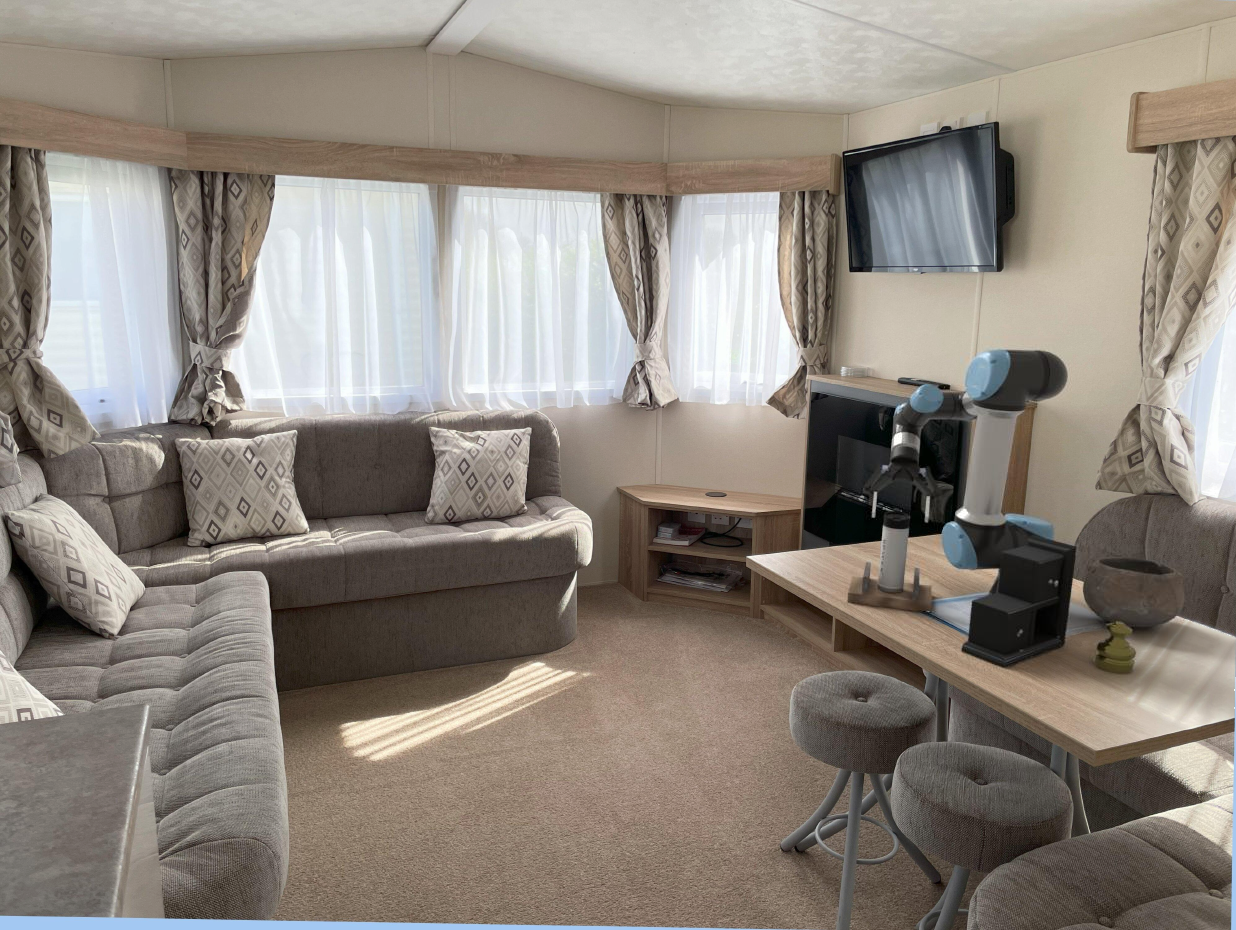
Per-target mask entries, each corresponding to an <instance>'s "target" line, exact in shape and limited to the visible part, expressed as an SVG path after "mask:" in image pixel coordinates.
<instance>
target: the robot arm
mask: <svg viewBox="0 0 1236 930" xmlns="http://www.w3.org/2000/svg"><path fill="white" fill-rule="evenodd" d="M1068 375H1069V374H1068V369H1067V367H1066V364H1065V362H1064V361H1063V360H1062V359H1061V358H1060V357H1059V356H1058V355H1056V354H1054V353H1052V352H1049V351H1046V350H1041V349H1040V350H1039V349H1038V350H1037V349H1035V350H1034V349H1033V350H1027V349H1026V350H1025V349H1024V350H1023V349H1001V348H999V349H989V350H988V349H987V350H983V351H981V352H979V353H978V354H977V355H976V356H975V357H973V359H972V360H971V361H970V363H969V365H968V367H967V370H966V374H965V377H964V378H965V379H964V385H965V387H966V388H965V391H954V392H953V391H942V390H941V389H940V388H938V387H937V386H935V385H934V386H933V385H932V384H931V383H930V384H928V383H927V384H926V383H925V384H923V385H920V386H919V387H918V388H917V389H916V390H915V391H914V392H913V393H912V394H911V396H910V398H909V399H908V401H907V402H905V403H903V402H902V404H899V405H898V406H897V407H896V408H895V411H894V415H893V417H892V419H893V424H892V425H893V426H892V439H891V448H890V450H891V451H890V458H889V459H890V460H889V461H890V462H889V464H888V465H886V464H885V465H884V464H883V462H878V464H877V468H876V469H875V471H874V472H873V474H872V475H871V476H870V477H869V479H868V480H867V482H866V483H865V484H864V485H863V490H862V492H863V494H865V495H868V497H869V498H868V504H869V506H872V509H871V510H872V511H871V518H876V510H877V497H878V493H880V491H882V490H883V489H884V488H886V487H887V486H888V485H889V484H892V483H893V482H895V481H896V483H912V485H914V486H915V487H916V488H917V489H918V490H919V491H920V492H921V493H922V494H923V496H924V497H925V498H926V501H925V512H924V513H925V515H924V516H925V517H924V522H925V523H929V518H930V511H931V512H932V511H934V510H935V509H934V507H935V501H940V500H941V499H942V494H943V493H942V491H941V489H940V487H939V486H938V484H937V482H936V481H935V478H934V477H933V475H932V473H931V467H930V466H927V465H926V466H925V467H922V468H921V467H920V466H919V458H920V446H921V433H922V429H923V428H924V426H925V425H926V424H927V423H928V422H929V421H930V420H969V421H973V420H976V424H975V428H974V429H975V430H974V435H973V441H972V447H971V455H970V461H969V467H968V472H967V474H968V475H967V480H966V487H965V493H964V498H963V506H961V507H960V508H959V509H957V510H956V511H955V515H954V521H950V522H947V523H945V525H944V526H943V529H942V531H941V545H942V550H943V553H944V556H945V557H946V559H947V561H948V562H949V564H950V565H952V566H953V567H954V568H956V569H957V570H970V571H975V570H996V569H997V571H998V572H997V575H996V577H995V579H994V581H993V583H992V584H991V585H992V586H991V587H990V589H989V591H988V594H987V596H988V595H991V594H995V593H998V587H999V578H1000V568H1001V561H1002V553H1003V551H1007V550H1011V549H1015V548H1019V547H1023V546H1027V544H1028V539H1029V537H1030V536H1031V535H1034V536H1037V537H1042V538H1046V539H1049V540H1053V541H1055V528H1054V526H1053V524H1052V523H1050V522H1048V521H1046V520H1044V519H1042V518H1041V519H1040V518H1036V517H1033V516H1030V515H1024V514H1020V513H1019V514H1018V513H1006V514H1005V515H1003V513H1002V512H1001V511H1002V507H1003V500H1004V496H1005V487H1006V484H1007V477H1008V471H1009V466H1010V460H1011V454H1012V447H1013V440H1014V437H1015V436H1014V435H1015V429H1016V426H1017V418H1018V416H1020V415H1021V414H1023V413H1024V412H1026V407H1027V401H1029V402H1033V403H1034V402H1042V401H1045V400H1046V401H1047V400H1049V399H1053V398H1055V397H1057V395H1060V393H1061V392H1062V391H1063V390H1064V389H1065V387H1066V385H1067V382H1068V377H1069V376H1068ZM886 471H887V472H888V473H887V474H886V476H884V477H883V478H882V479H880V480H879V478H881V476H882V474H884V473H885V472H886ZM919 474H921V475H922V476H923V478H925V481H926V483H927V484H928V486H929V487H928V486H927V484H925V482H924V481H923V480H922V479H921V478H920V476H919ZM878 480H879V481H878ZM877 481H878V482H877ZM876 482H877V483H876Z"/></svg>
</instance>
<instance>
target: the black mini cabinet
mask: <svg viewBox="0 0 1236 930" xmlns="http://www.w3.org/2000/svg"><path fill="white" fill-rule="evenodd" d="M1077 548H1078V546H1076V545H1071V544H1068V543H1064V542H1060V541H1057V540H1054V541H1053V540H1049V539H1046V538H1042V537H1037V536H1034V535H1031V536H1030V537H1029V539H1028V544H1027V546H1023V547H1019V548H1015V549H1011V550H1007V551H1003V553H1002V561H1001V568H1000V578H999V587H998V593H995V594H991V595H988V594H987V595H984V596H982V597H979V598H976V599H972V600H971V605H970V606H971V607H970V615H969V627H968V636H967V641H965V642H963V644H962V646H961V652H964V653H966V654H968V655H971V656H973V657H975V658H979V659H980V660H983V661H986V662H988V663H991V664H993V665H995V666H999V667H1001V668H1003V669H1006V668H1007V667H1011V666H1013V665H1015V664H1018V663H1021V662H1024V661H1026V660H1029V659H1032V658H1034V657H1037V656H1040V655H1043V654H1046V653H1047V652H1050V651H1053V650H1055V649H1058V648H1061V647H1064V646H1065V645H1066V636H1067V630H1068V629H1067V628H1068V621H1069V614H1070V613H1069V612H1070V605H1071V596H1072V589H1073V583H1074V571H1075V566H1076V558H1077V554H1076V553H1077Z"/></svg>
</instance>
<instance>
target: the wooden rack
mask: <svg viewBox="0 0 1236 930" xmlns="http://www.w3.org/2000/svg"><path fill="white" fill-rule="evenodd" d="M871 567H872V562H869V561H866V562H865V566H864V571H863V576H862V577H861V576H854V575H853V576H851V579H850V583H849V587H848V591H847V601H851V602H850V603H852V602H857V603H856V604H860V603H864V604H863V605H867V604H868V605H869V606H875V607H877V606H878V607H885V608H891V609H899V610H906V611H907V610H908V611H914V612H915V611H916V612H923V611H931V612H932V602H933V601H932V600H933V598H932V597H933V595H932V586H931V585H927V584H921V583H920V570H921V569H920V568H919V567H914V571H913V573H914V574H913V582H912V583H911V582H904V584H903V585H904V587H903V591H902V592H899V593H889V592H884V591H881V590H880V589H879V588H878V582H879V581H878V578H870V576H871Z"/></svg>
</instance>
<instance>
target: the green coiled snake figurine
mask: <svg viewBox="0 0 1236 930" xmlns="http://www.w3.org/2000/svg"><path fill="white" fill-rule="evenodd" d="M1105 629H1106V630H1107V631H1108V632H1109V633H1110V636H1108V638H1105V639H1104V640H1100V641H1098V642H1097V643H1096V647H1095V650H1096V653H1094V655H1095V656H1094V665H1095V666H1096V667H1097V668H1099V669H1101V670H1103V671H1106V672H1109V673H1113V674H1119V675H1120V674H1122V675H1123V674H1125V675H1126V674H1130V673H1132V672H1133V671H1134V667H1135V666H1134V665H1135V663H1136V662H1135V659H1134V658H1135V657H1136V655H1137V651H1136V649H1135V648H1134V647H1133V646H1132V645H1130V643H1129V642H1128V641H1127V639H1126V637H1127V636H1128V635H1131V634H1132V633H1133V629H1132V627H1129V626H1127V625H1125V624H1124V623H1123V622H1118V621H1117V622H1109V623H1106V624H1105Z"/></svg>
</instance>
